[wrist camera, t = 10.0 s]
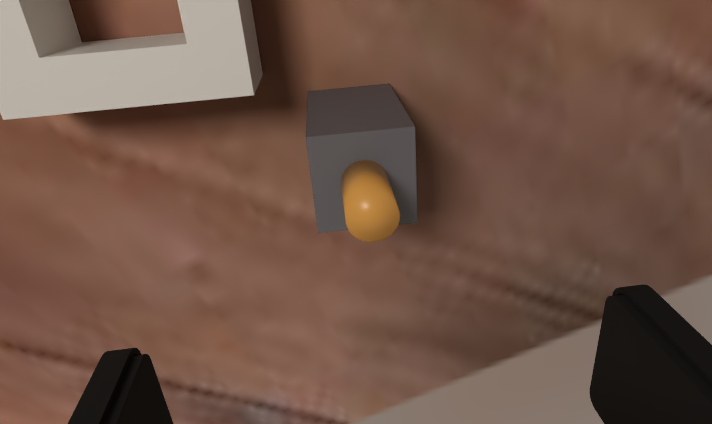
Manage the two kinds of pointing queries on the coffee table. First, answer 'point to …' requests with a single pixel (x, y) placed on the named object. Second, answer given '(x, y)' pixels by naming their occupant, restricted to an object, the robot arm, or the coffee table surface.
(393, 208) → the plug
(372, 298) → the coffee table surface
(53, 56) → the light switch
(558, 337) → the coffee table surface
